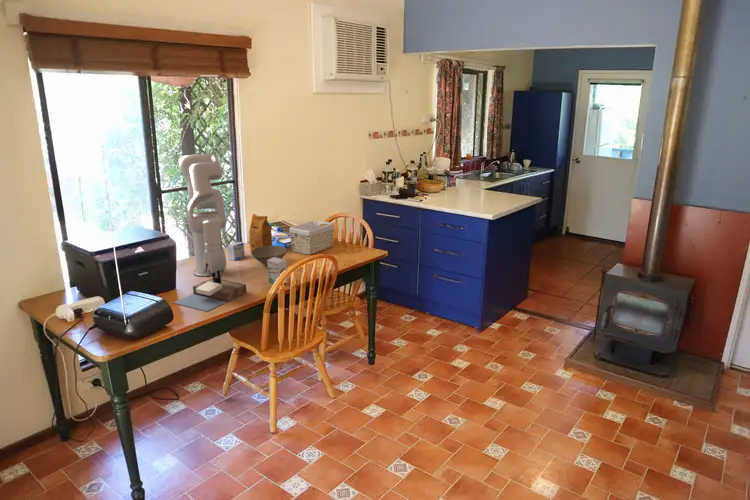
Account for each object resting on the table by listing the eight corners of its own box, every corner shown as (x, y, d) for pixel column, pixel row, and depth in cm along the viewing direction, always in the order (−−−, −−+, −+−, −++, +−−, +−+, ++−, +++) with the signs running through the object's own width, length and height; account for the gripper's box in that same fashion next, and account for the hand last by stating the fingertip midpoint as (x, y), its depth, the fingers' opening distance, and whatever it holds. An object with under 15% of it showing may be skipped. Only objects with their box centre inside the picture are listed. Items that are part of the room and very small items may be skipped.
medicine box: (234, 261, 285) (233, 246, 283) (228, 259, 287) (227, 244, 285) (245, 257, 292) (243, 242, 289) (239, 256, 294) (238, 241, 291)
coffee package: (260, 248, 309) (258, 211, 302) (275, 251, 301) (272, 214, 295) (247, 252, 301) (244, 215, 295) (261, 256, 294) (259, 218, 287)
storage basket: (315, 242, 320) (314, 219, 315) (336, 246, 311) (335, 222, 307) (289, 252, 301) (287, 227, 296) (310, 256, 292) (309, 231, 288)
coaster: (209, 285, 238) (208, 281, 237) (222, 288, 234) (221, 284, 233) (196, 292, 231) (195, 288, 230) (209, 295, 228) (209, 291, 227)
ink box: (268, 282, 253) (266, 259, 250) (275, 279, 257) (273, 256, 254) (280, 285, 249) (279, 262, 245) (288, 282, 253) (286, 259, 249)
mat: (193, 294, 238) (193, 293, 238) (226, 302, 230) (226, 301, 229) (173, 303, 229) (173, 302, 229) (207, 311, 220) (207, 310, 220)
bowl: (269, 272, 267) (268, 257, 265) (244, 266, 277) (243, 251, 274) (294, 262, 282) (293, 248, 279) (269, 257, 291) (268, 243, 289)
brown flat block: (214, 285, 250) (213, 277, 248) (246, 292, 241) (245, 284, 240) (193, 294, 239) (192, 286, 237) (226, 302, 230) (225, 293, 229)
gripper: (219, 241, 240) (222, 278, 245) (194, 249, 227) (199, 288, 233) (231, 243, 237) (235, 280, 242) (207, 251, 224) (211, 291, 229)
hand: (217, 284), depth 237 cm, fingers closed
